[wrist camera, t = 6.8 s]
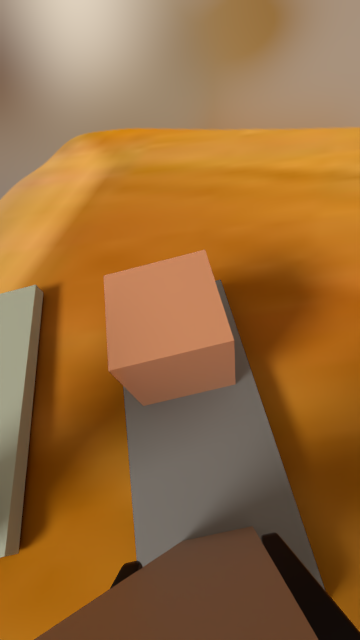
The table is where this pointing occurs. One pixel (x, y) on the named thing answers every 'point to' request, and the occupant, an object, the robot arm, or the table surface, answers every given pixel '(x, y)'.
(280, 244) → the table surface
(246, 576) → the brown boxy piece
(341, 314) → the table surface
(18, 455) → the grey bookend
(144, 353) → the terracotta cube
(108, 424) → the table surface
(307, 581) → the robot arm
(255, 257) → the table surface
